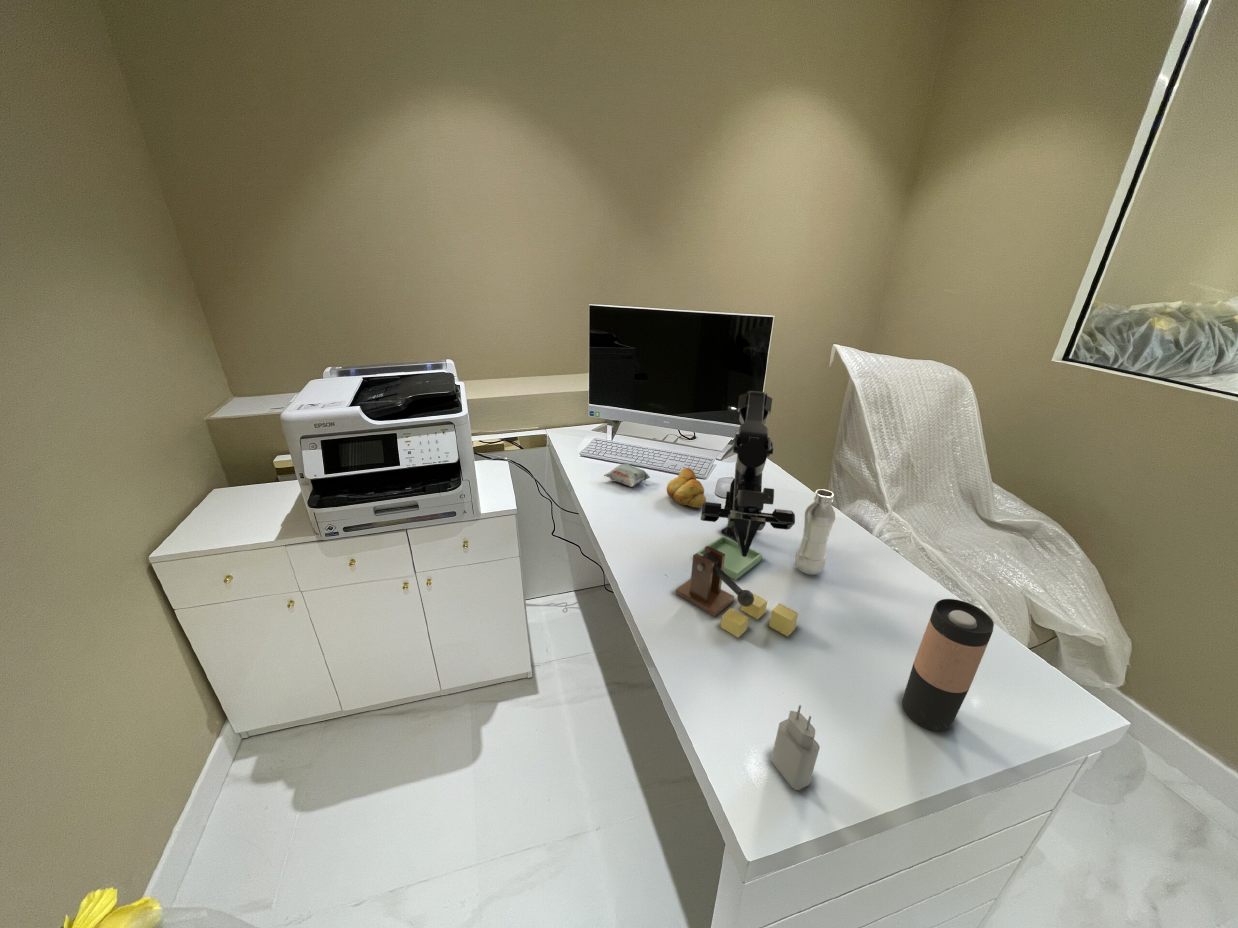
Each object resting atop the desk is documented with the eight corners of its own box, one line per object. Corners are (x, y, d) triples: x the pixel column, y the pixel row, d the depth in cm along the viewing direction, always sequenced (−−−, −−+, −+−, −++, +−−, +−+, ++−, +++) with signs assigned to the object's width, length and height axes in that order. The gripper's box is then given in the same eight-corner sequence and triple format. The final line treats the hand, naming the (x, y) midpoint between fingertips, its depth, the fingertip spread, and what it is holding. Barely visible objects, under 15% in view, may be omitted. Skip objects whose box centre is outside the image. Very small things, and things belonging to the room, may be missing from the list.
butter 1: (729, 619, 100) (730, 607, 99) (746, 629, 98) (748, 617, 96) (720, 627, 98) (722, 615, 97) (738, 637, 96) (740, 625, 94)
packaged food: (632, 492, 149) (633, 477, 147) (603, 480, 156) (603, 466, 154) (650, 483, 155) (651, 469, 153) (621, 472, 162) (621, 458, 160)
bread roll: (712, 508, 142) (715, 482, 138) (682, 514, 138) (685, 488, 135) (688, 488, 152) (690, 464, 149) (660, 494, 149) (662, 469, 145)
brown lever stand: (733, 600, 105) (740, 558, 101) (714, 616, 101) (720, 572, 96) (695, 579, 112) (699, 538, 107) (675, 593, 107) (679, 551, 103)
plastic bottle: (824, 565, 118) (841, 489, 109) (821, 581, 112) (839, 503, 104) (795, 558, 120) (810, 483, 112) (791, 573, 114) (807, 496, 106)
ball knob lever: (752, 604, 100) (760, 595, 98) (743, 612, 97) (751, 603, 95) (705, 558, 105) (711, 549, 103) (695, 564, 103) (702, 555, 101)
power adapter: (785, 749, 75) (799, 691, 70) (812, 782, 70) (829, 722, 65) (768, 757, 73) (782, 699, 68) (795, 792, 69) (811, 731, 64)
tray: (722, 541, 126) (723, 535, 125) (761, 560, 119) (762, 553, 118) (696, 559, 119) (696, 552, 118) (736, 580, 112) (737, 573, 111)
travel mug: (890, 693, 84) (922, 598, 76) (933, 691, 85) (969, 596, 77) (918, 734, 78) (957, 635, 69) (965, 731, 78) (1009, 632, 70)
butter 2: (748, 603, 105) (750, 591, 104) (765, 612, 102) (767, 600, 101) (740, 609, 103) (742, 598, 102) (757, 619, 100) (759, 607, 99)
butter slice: (776, 618, 101) (779, 602, 99) (794, 628, 98) (798, 612, 96) (768, 626, 99) (771, 610, 97) (787, 636, 96) (791, 620, 94)
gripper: (706, 467, 102) (700, 543, 96) (801, 476, 99) (800, 554, 94) (703, 484, 112) (697, 553, 107) (789, 492, 109) (788, 564, 104)
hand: (744, 556), depth 103 cm, fingers closed
